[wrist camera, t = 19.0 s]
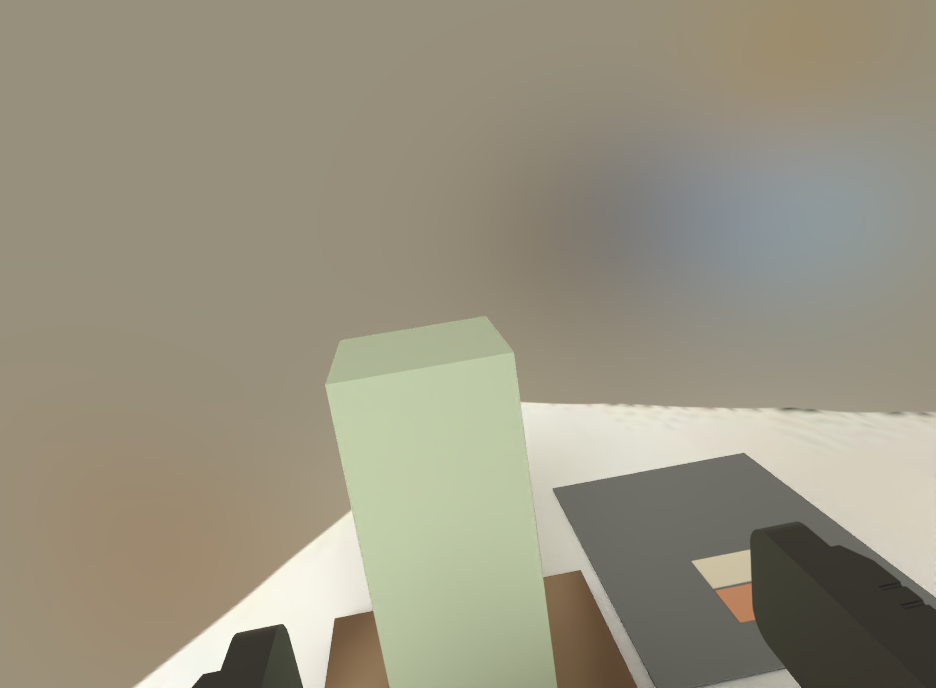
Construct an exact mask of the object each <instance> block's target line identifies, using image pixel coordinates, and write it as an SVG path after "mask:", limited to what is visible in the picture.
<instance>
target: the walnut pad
mask: <svg viewBox="0 0 936 688" xmlns="http://www.w3.org/2000/svg"><path fill="white" fill-rule="evenodd" d="M543 581H544V589H545V597H546V604H547V612H548V620H549V627H550V635H551V643H552V650H553V658H554V666H555V674H556V681H557V688H637V686H636V684H635V682H634V680H633V678H632V676H631V674H630V672H629V670H628V668H627V665H626V663H625V661H624V659H623V657H622V655H621V653H620V651H619V649H618V647H617V645H616V643H615V641H614V639H613V637H612V634H611V632H610V630H609V628H608V626H607V624H606V622H605V620H604V618H603V616H602V614H601V612H600V610H599V608H598V605H597V603H596V601H595V599H594V597H593V595H592V593H591V591H590V589H589V587H588V585H587V583H586V581H585V579H584V577H583V574H582V572H581V570H579V571H574V572H569V573H564V574H559V575H554V576H549V577H544V578H543ZM325 688H390V687H389V683H388V678H387V673H386V668H385V664H384V659H383V654H382V650H381V645H380V640H379V636H378V631H377V626H376V621H375V617H374V612H373V611H371V612H366V613H361V614H356V615H351V616H346V617H340V618H335V621H334V628H333V634H332V641H331V648H330V655H329V662H328V669H327V676H326V683H325Z"/></svg>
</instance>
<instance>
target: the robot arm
mask: <svg viewBox="0 0 936 688" xmlns="http://www.w3.org/2000/svg"><path fill="white" fill-rule="evenodd" d="M750 556H751V583H752V606H753V613H754V617H755V620H756V623H757V626H758V628H759V630H760V633H761V635H762V637H763V638H764V640H765V642H766V643H767V645H768V646H769V647H770V649H771V650H772V651H773V652H774V654H775V655H776V656H777V657H778V659H779V660H780V661H781V662H782V664H783V665H784V666H785V667H786V669H787V670H788V671H789V672H790V674H791V675H792V676H793V677H794V679H795V680H796V681H797V682H798V684H799V685H800V686H801V687H802V688H936V609H934V608H933V607H932V606H931V605H929V604H928V605H925V603H924V601H923V599H922V598H920V597H919V596H918V595H917V594H915V593H914V592H913V591H912V590H910V589H909V588H908V587H907V586H904V587H903V586H902V585H901V582H900V581H899V580H898V579H897V578H895V577H894V576H893V575H892V574H890V573H889V572H888V571H886V570H885V569H884V568H883V567H881V566H880V565H879V564H878V563H876V562H875V561H874V560H872V559H870V558H867V557H865V556H863V555H861V554H859V553H856V552H854V551H852V550H850V549H848V548H845V547H843V546H841V545H836V546H830V545H828V544H827V543H826V542H825V541H824V540H822V539H821V538H820V537H819V536H818V535H816V534H815V533H814V532H813V531H812V530H810V529H809V528H808V527H807V526H806V525H804V524H803V523H801V522H797V521H796V522H790V523H786V524H781V525H776V526H771V527H766V528H761V529H756V530H754V531H753V532H752V534H751V537H750ZM192 688H303V685H302V682H301V678H300V674H299V671H298V667H297V663H296V660H295V656H294V652H293V649H292V645H291V641H290V638H289V634H288V631H287V629H286V627H285V626H284V625H283V624H279V625H274V626H270V627H265V628H260V629H255V630H250V631H245V632H240V633H236V634H235V635H234V637H233V638H232V641H231V643H230V646H229V649H228V652H227V654H226V657H225V660H224V662H223V665H222V668H221V671H217V672H212V673H207V674H203V675H202V676H201V677H200V679H199V680H198V681H197V682H196V683H195V684H194V686H193V687H192Z"/></svg>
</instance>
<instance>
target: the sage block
mask: <svg viewBox="0 0 936 688" xmlns="http://www.w3.org/2000/svg"><path fill="white" fill-rule="evenodd" d="M325 386H326V390H327V395H328V400H329V404H330V410H331V414H332V419H333V424H334V429H335V433H336V438H337V443H338V447H339V452H340V457H341V461H342V466H343V471H344V476H345V480H346V485H347V490H348V494H349V499H350V504H351V509H352V513H353V518H354V523H355V527H356V532H357V537H358V541H359V546H360V551H361V556H362V560H363V565H364V570H365V574H366V579H367V584H368V588H369V593H370V598H371V603H372V607H373V612H374V617H375V621H376V626H377V631H378V636H379V640H380V645H381V650H382V654H383V659H384V664H385V668H386V673H387V678H388V683H389V687H390V688H557V681H556V674H555V666H554V658H553V650H552V643H551V635H550V627H549V620H548V612H547V604H546V597H545V589H544V581H543V573H542V566H541V558H540V550H539V543H538V535H537V527H536V519H535V512H534V504H533V496H532V489H531V481H530V473H529V465H528V458H527V450H526V442H525V435H524V427H523V419H522V411H521V404H520V396H519V388H518V381H517V373H516V365H515V357H514V352H513V351H512V350H511V348H510V347H509V345H508V344H507V343H506V342H505V340H504V339H503V338H502V336H501V335H500V334H499V333H498V331H497V330H496V329H495V327H494V326H493V325H492V323H491V322H490V321H489V320H488V318H487V317H486V316H483V317H477V318H471V319H466V320H459V321H453V322H447V323H442V324H436V325H430V326H423V327H417V328H411V329H405V330H400V331H394V332H388V333H382V334H376V335H370V336H364V337H358V338H352V339H346V340H341V341H340V342H339V345H338V348H337V351H336V354H335V357H334V360H333V363H332V366H331V369H330V372H329V375H328V378H327V381H326V384H325Z"/></svg>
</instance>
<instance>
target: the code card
mask: <svg viewBox="0 0 936 688" xmlns="http://www.w3.org/2000/svg"><path fill="white" fill-rule="evenodd" d="M553 491H554V493H555V495H556V497H557V498H558V500H559V502H560V504H561V506H562V508H563V510H564V512H565V514H566V516H567V518H568V520H569V521H570V523H571V525H572V527H573V529H574V531H575V533H576V535H577V537H578V539H579V541H580V543H581V544H582V546H583V548H584V550H585V552H586V554H587V556H588V558H589V560H590V562H591V564H592V566H593V567H594V569H595V571H596V573H597V575H598V577H599V579H600V581H601V583H602V585H603V587H604V589H605V590H606V592H607V594H608V596H609V598H610V600H611V602H612V604H613V606H614V608H615V610H616V612H617V613H618V615H619V617H620V619H621V621H622V623H623V625H624V627H625V629H626V631H627V633H628V635H629V636H630V638H631V640H632V642H633V644H634V646H635V648H636V650H637V652H638V654H639V656H640V658H641V659H642V661H643V663H644V665H645V667H646V669H647V671H648V673H649V675H650V677H651V679H652V681H653V682H654V684H655V686H656V688H695V687H699V686H704V685H709V684H713V683H718V682H723V681H727V680H732V679H737V678H741V677H746V676H751V675H755V674H760V673H765V672H770V671H774V670H779V669H784V668H786V667H785V666H784V665H783V664H782V662H781V661H780V660H779V659H778V657H777V656H776V655H775V654H774V652H773V651H772V650H771V649H770V647H769V646H768V645H767V643H766V642H765V640H764V638H763V637H762V635H761V633H760V630H759V628H758V626H757V623H756V620H755V617H754V613H753V606H752V583H751V556H750V537H751V534H752V532H753V531H754V530H756V529H761V528H766V527H771V526H776V525H781V524H786V523H790V522H796V521H797V522H801V523H803V524H804V525H806V526H807V527H808V528H809V529H810V530H812V531H813V532H814V533H815V534H816V535H818V536H819V537H820V538H821V539H822V540H824V541H825V542H826V543H827V544H828V545H830V546H836V545H841V546H843V547H845V548H848V549H850V550H852V551H854V552H856V553H859V554H861V555H863V556H865V557H867V558H870V559H872V560H874V561H875V562H876V563H878V564H879V565H880V566H881V567H883V568H884V569H885V570H886V571H888V572H889V573H890V574H892V575H893V576H894V577H895V578H897V579H898V580H899V581H900V582H901V585H902V586H903V587H904V586H907V587H908V588H909V589H910V590H912V591H913V592H914V593H915V594H917V595H918V596H919V597H920V598H922V599H923V601H924V603H925V605H928V604H929V605H931V606H932V607H933V608H934V609H936V598H935V597H934V596H933V595H931V594H930V593H929V592H927V591H926V590H925V589H923V588H922V587H921V586H919V585H918V584H917V583H915V582H914V581H913V580H911V579H910V578H909V577H908V576H906V575H905V574H904V573H902V572H901V571H900V570H898V569H897V568H896V567H894V566H893V565H892V564H890V563H889V562H888V561H886V560H885V559H884V558H882V557H881V556H880V555H878V554H877V553H876V552H874V551H873V550H872V549H870V548H869V547H868V546H866V545H865V544H864V543H863V542H861V541H860V540H859V539H857V538H856V537H855V536H853V535H852V534H851V533H849V532H848V531H847V530H845V529H844V528H843V527H841V526H840V525H839V524H837V523H836V522H835V521H833V520H832V519H831V518H829V517H828V516H827V515H825V514H824V513H823V512H821V511H820V510H819V509H818V508H816V507H815V506H814V505H812V504H811V503H810V502H808V501H807V500H806V499H804V498H803V497H802V496H800V495H799V494H798V493H796V492H795V491H794V490H792V489H791V488H790V487H788V486H787V485H786V484H784V483H783V482H782V481H780V480H779V479H778V478H776V477H775V476H774V475H772V474H771V473H770V472H769V471H767V470H766V469H765V468H763V467H762V466H761V465H759V464H758V463H757V462H755V461H754V460H753V459H751V458H750V457H749V456H747V455H746V454H745V453H741V454H735V455H730V456H725V457H719V458H714V459H709V460H703V461H698V462H693V463H687V464H682V465H676V466H671V467H666V468H660V469H655V470H650V471H644V472H639V473H634V474H628V475H623V476H617V477H612V478H607V479H601V480H596V481H591V482H585V483H580V484H575V485H569V486H564V487H558V488H553Z"/></svg>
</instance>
